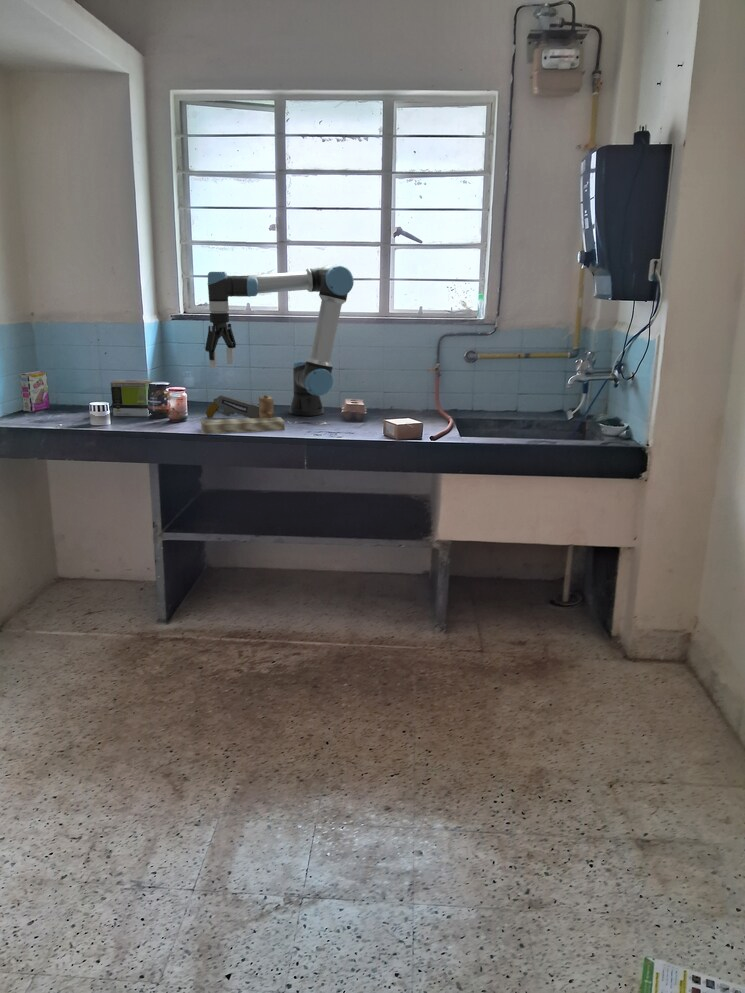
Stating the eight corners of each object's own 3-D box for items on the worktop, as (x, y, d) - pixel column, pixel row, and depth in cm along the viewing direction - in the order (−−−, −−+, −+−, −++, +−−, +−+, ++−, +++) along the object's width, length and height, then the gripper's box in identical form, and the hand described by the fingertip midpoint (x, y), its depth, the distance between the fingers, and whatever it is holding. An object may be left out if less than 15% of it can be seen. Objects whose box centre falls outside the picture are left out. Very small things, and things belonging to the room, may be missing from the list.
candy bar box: (32, 412, 315) (27, 374, 310) (23, 411, 316) (18, 373, 311) (50, 408, 325) (46, 371, 320) (41, 407, 327) (37, 370, 322)
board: (280, 425, 302) (280, 417, 301) (284, 429, 293) (284, 421, 292) (201, 428, 292) (200, 420, 291) (203, 433, 284) (203, 424, 283)
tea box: (154, 413, 321) (152, 379, 317) (147, 417, 311) (145, 382, 307) (120, 412, 321) (118, 378, 317) (112, 416, 312) (109, 381, 307)
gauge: (271, 422, 307) (270, 394, 303) (277, 428, 296) (276, 399, 292) (259, 423, 305) (258, 394, 302) (264, 429, 294) (264, 399, 291)
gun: (255, 440, 313) (267, 409, 308) (203, 416, 313) (214, 384, 308) (257, 438, 316) (269, 407, 311) (206, 414, 316) (217, 383, 311)
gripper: (226, 310, 302) (229, 362, 308) (193, 313, 279) (197, 369, 286) (242, 310, 299) (245, 362, 306) (211, 314, 277) (214, 370, 283)
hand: (222, 366), depth 296 cm, fingers open, 13 cm apart
